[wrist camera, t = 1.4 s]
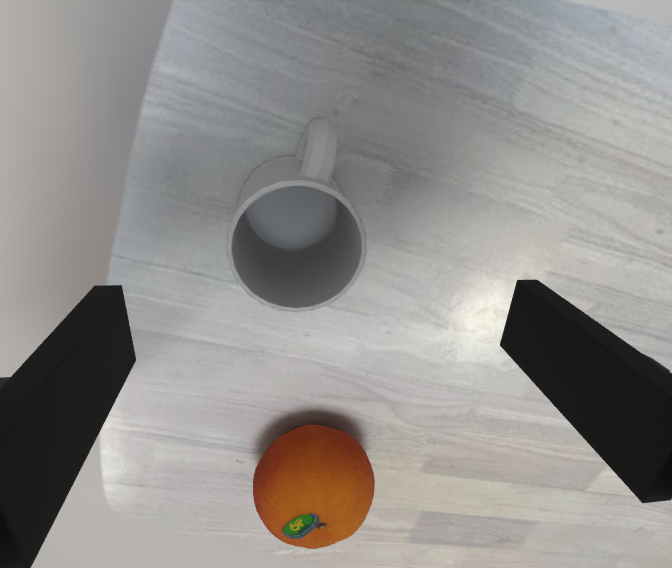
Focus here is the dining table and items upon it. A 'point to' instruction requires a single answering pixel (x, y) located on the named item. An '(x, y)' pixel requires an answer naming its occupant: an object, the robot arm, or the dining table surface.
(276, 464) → the fruit
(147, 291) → the dining table surface
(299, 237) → the cup
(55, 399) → the robot arm
